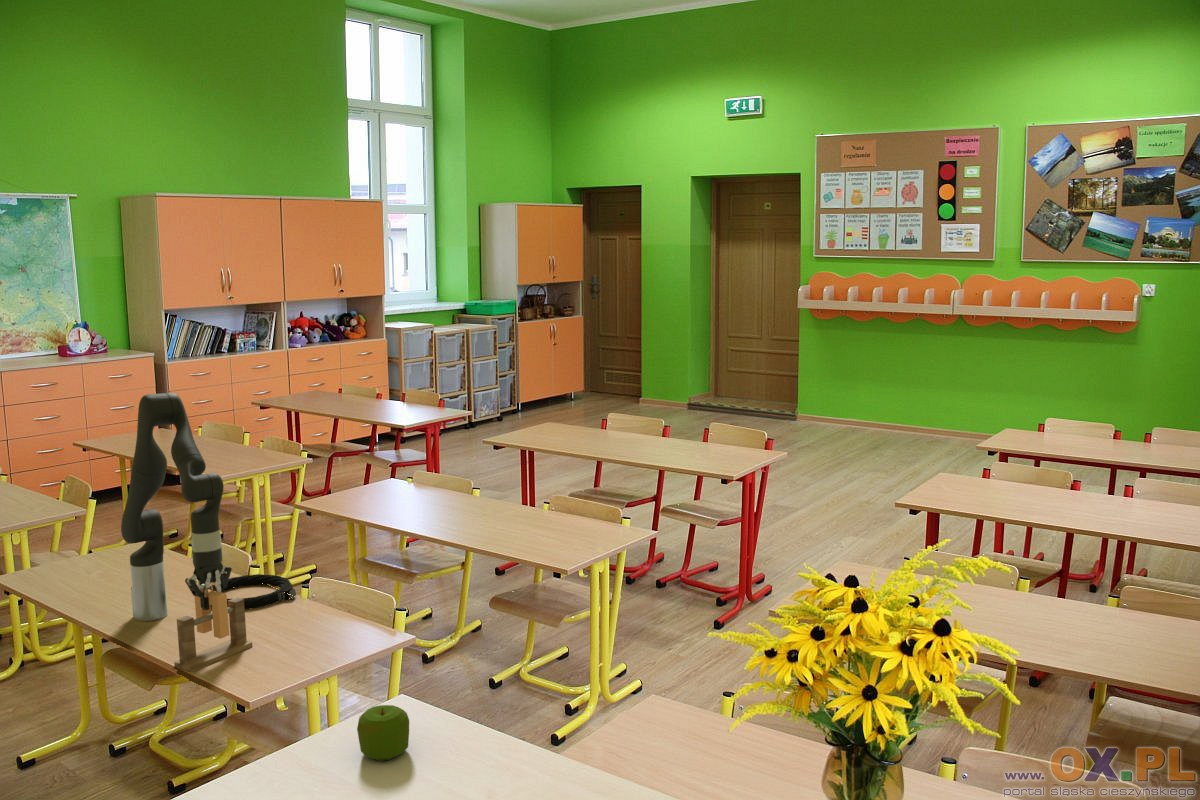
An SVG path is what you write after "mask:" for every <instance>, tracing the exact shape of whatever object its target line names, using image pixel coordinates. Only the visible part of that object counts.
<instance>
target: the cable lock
mask: <svg viewBox="0 0 1200 800" xmlns="http://www.w3.org/2000/svg"><path fill="white" fill-rule="evenodd" d="M223 581H224V580H223ZM262 583H263V584H265V585H263V584H262ZM256 584H258V586H259V584H261V585H260V586H266V585H267V586H273V587H278V589H277V590H274V591H273V592H270V593H265V594H262V595H258V596H253V597H252V596H251V597H244V598H243V597H242V598H241V599H244V608H245V610H250V608H252V609H256V608H261V607H262V606H263V607H266V605H267V606H270V605H272V604H275V603H282V602H284V601H287V600H288V599H289V598H290V600H291V597H292V598H294V599H295V598H296V596H297V592H296V589H295V588H294V587H293V584H292V583H291V581H290V580H289V579H287V578H286V577H284V576H280V575H277V574H276V575H274V574H262V573H257V574H249V575H248V574H246V575H242V576H234V577H229V580H228V583H227V587H226V588H225V589H222V590H221V593H223V592H224V591H223V590H226V591H227V589H228V590H230V588H232V589H234V588H233V587H237V588H240V587H239V586H241V587H245V586H256ZM209 590H212V588H211V585H210V588H209ZM222 591H223V592H222ZM284 592H285V593H284ZM287 593H288V594H291V595H288V594H287ZM292 595H293V596H292ZM294 596H295V597H294ZM231 599H232V598H227V607H228V601H229V600H231ZM277 601H278V602H277ZM288 601H289V600H288ZM269 604H270V605H269ZM211 608H212V605H211Z"/></svg>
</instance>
